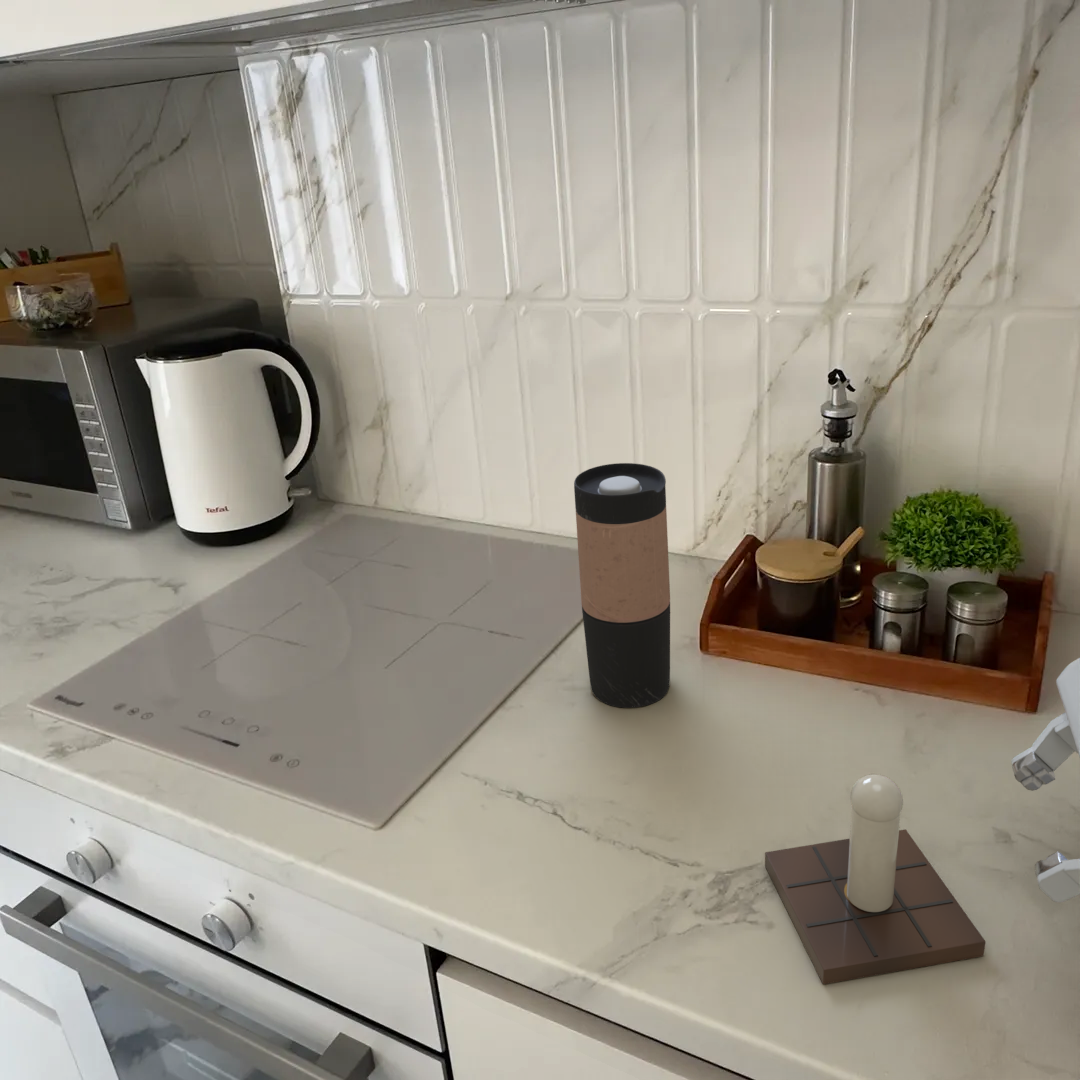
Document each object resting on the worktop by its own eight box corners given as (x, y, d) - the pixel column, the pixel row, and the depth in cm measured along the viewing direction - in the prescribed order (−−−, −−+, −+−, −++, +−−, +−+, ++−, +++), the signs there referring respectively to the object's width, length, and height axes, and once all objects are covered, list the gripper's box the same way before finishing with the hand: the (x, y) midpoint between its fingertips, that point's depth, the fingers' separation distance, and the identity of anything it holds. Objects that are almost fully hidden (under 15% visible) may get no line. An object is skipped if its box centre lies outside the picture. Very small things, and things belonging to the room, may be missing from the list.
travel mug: (576, 674, 90) (560, 472, 82) (652, 656, 92) (644, 456, 84) (605, 718, 84) (591, 502, 75) (687, 697, 85) (681, 484, 77)
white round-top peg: (881, 875, 63) (890, 760, 59) (903, 909, 60) (914, 791, 57) (837, 883, 63) (843, 767, 59) (857, 917, 60) (864, 799, 56)
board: (904, 842, 67) (905, 828, 67) (983, 956, 58) (986, 940, 58) (764, 865, 66) (764, 851, 66) (823, 985, 57) (823, 969, 57)
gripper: (1165, 571, 59) (974, 693, 66) (1296, 785, 41) (1017, 921, 48) (1236, 641, 60) (1039, 754, 66) (1395, 881, 42) (1104, 1002, 49)
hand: (1030, 827), depth 57 cm, fingers open, 8 cm apart
